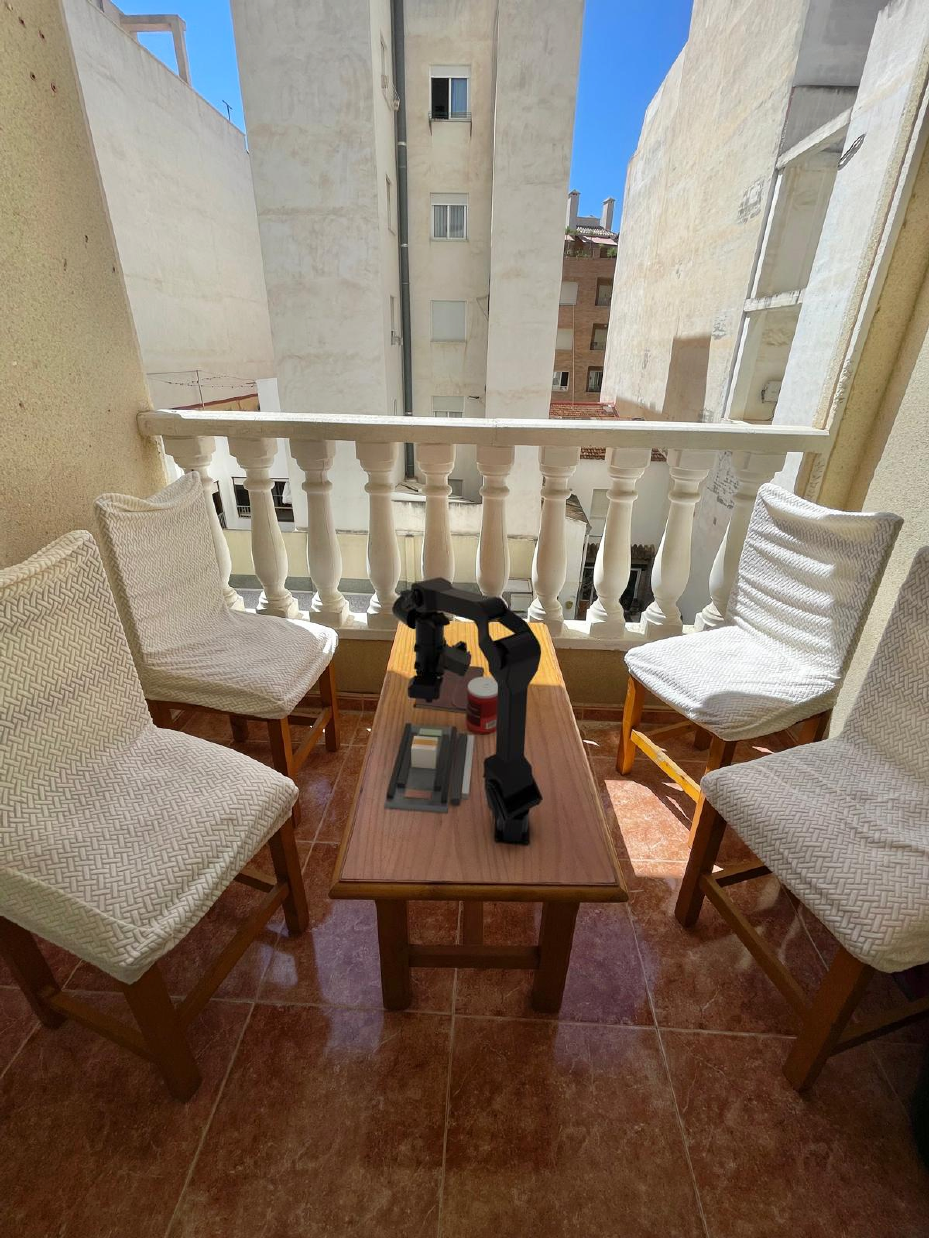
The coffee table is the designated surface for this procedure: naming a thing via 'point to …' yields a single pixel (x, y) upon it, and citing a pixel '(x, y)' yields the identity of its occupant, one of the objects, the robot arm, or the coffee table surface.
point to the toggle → (424, 752)
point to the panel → (423, 772)
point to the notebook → (452, 691)
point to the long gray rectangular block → (462, 769)
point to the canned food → (482, 705)
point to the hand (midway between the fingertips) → (429, 701)
